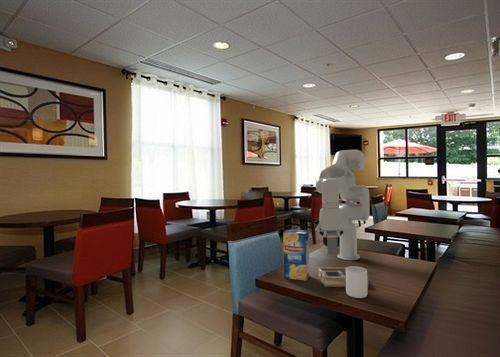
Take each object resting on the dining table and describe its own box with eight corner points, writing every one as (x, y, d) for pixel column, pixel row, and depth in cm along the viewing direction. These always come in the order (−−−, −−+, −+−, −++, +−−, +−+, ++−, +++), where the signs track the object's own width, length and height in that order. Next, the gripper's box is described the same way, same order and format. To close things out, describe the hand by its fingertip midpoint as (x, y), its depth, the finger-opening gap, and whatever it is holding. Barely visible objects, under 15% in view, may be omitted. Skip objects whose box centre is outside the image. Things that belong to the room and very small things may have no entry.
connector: (325, 251, 138) (324, 230, 138) (335, 251, 138) (334, 230, 138) (327, 254, 133) (326, 232, 133) (337, 254, 133) (337, 232, 133)
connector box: (318, 275, 143) (318, 267, 143) (358, 275, 142) (357, 267, 142) (324, 287, 129) (324, 277, 129) (368, 286, 128) (368, 277, 128)
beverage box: (306, 280, 137) (305, 233, 136) (283, 277, 141) (283, 232, 141) (309, 275, 143) (308, 230, 143) (287, 273, 147) (287, 229, 147)
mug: (345, 286, 129) (345, 262, 129) (366, 288, 126) (365, 264, 126) (346, 297, 118) (345, 271, 117) (368, 299, 115) (367, 273, 115)
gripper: (347, 204, 138) (347, 243, 138) (310, 205, 139) (311, 243, 139) (351, 206, 131) (352, 247, 131) (313, 207, 131) (314, 247, 132)
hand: (331, 244), depth 135 cm, fingers closed on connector, 4 cm apart
